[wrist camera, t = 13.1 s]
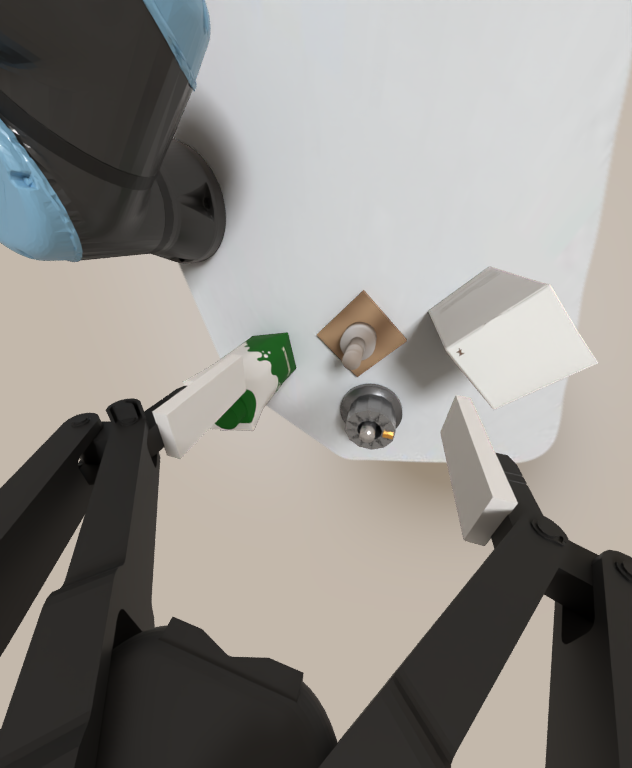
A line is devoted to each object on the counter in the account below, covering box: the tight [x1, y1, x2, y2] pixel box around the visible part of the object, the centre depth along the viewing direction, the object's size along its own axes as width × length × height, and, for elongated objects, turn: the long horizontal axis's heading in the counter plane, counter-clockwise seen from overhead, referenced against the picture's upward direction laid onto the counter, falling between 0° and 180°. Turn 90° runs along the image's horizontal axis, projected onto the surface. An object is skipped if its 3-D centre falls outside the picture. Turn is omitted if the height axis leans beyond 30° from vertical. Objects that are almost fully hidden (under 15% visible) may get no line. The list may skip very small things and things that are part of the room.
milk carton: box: [183, 333, 296, 431], centre depth 39 cm, size 9×9×20 cm
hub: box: [341, 384, 402, 443], centre depth 44 cm, size 11×11×8 cm
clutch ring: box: [345, 394, 396, 449], centre depth 44 cm, size 8×8×5 cm
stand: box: [317, 290, 407, 377], centre depth 37 cm, size 10×10×10 cm
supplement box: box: [428, 267, 598, 410], centre depth 29 cm, size 9×9×15 cm
